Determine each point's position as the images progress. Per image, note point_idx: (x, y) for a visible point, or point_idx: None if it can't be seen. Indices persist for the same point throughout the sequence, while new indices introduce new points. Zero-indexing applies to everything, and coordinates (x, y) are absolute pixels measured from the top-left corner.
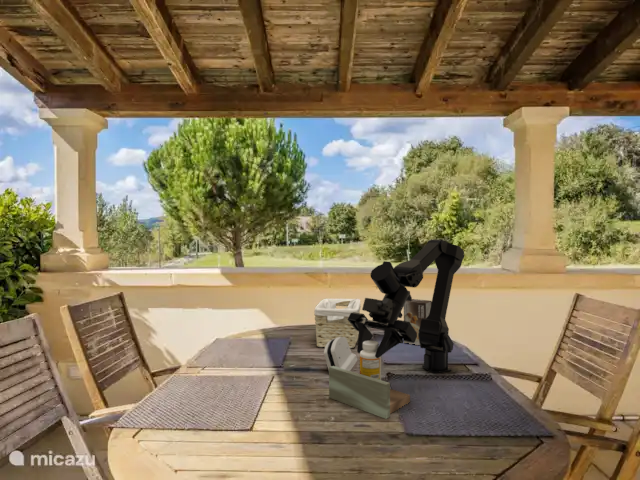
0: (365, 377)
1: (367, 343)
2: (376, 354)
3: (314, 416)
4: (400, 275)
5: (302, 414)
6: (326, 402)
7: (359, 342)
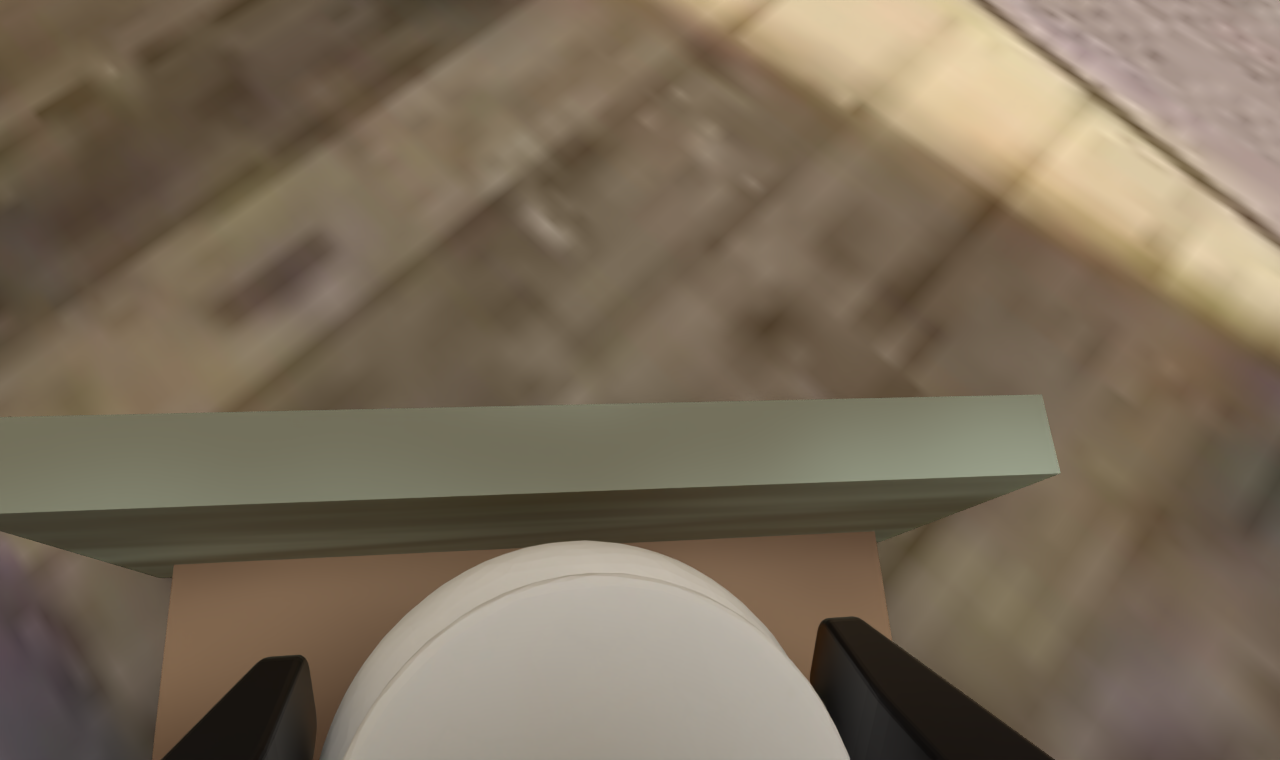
0: (397, 435)
1: (607, 685)
2: (257, 669)
3: (664, 161)
4: None
5: (749, 131)
6: (806, 399)
7: (989, 753)
